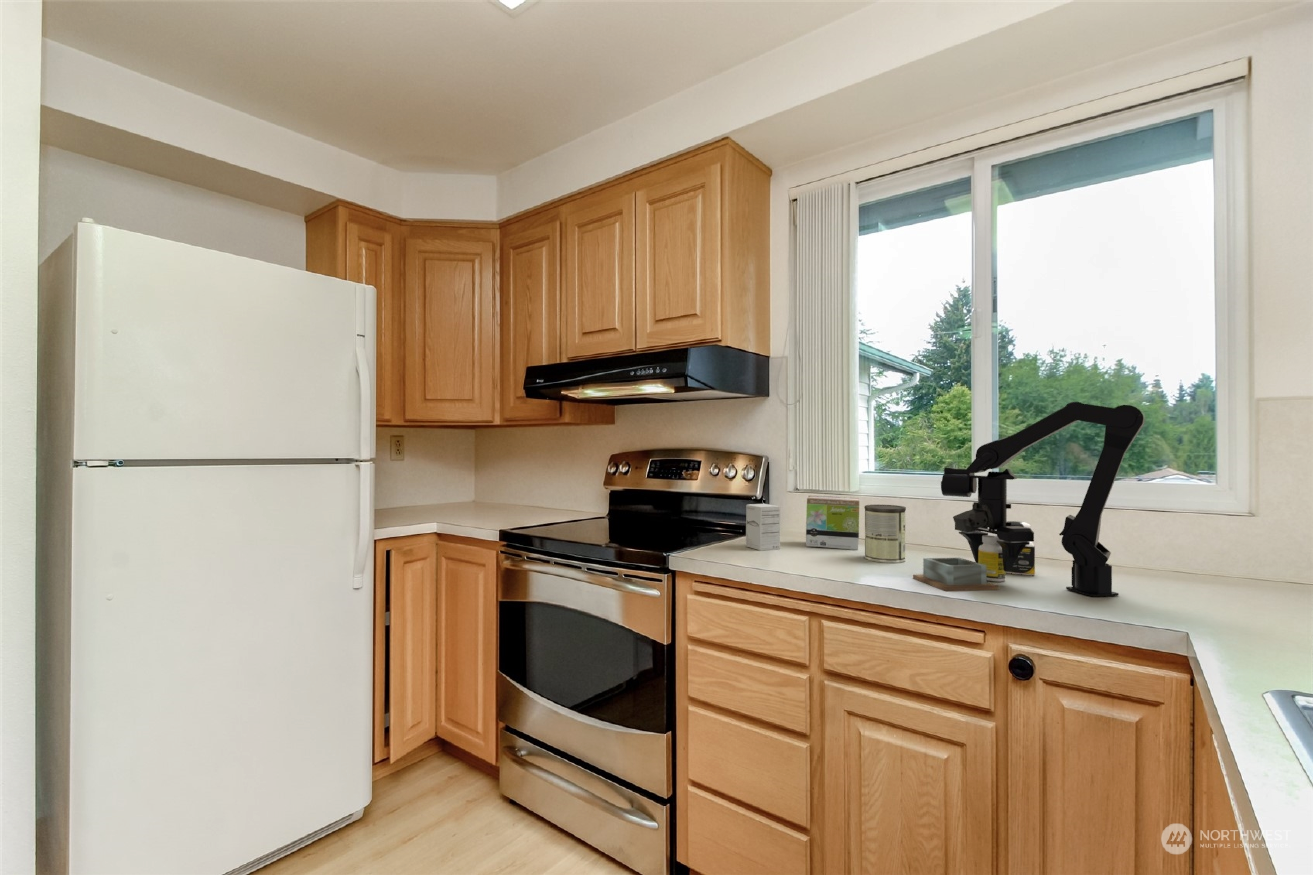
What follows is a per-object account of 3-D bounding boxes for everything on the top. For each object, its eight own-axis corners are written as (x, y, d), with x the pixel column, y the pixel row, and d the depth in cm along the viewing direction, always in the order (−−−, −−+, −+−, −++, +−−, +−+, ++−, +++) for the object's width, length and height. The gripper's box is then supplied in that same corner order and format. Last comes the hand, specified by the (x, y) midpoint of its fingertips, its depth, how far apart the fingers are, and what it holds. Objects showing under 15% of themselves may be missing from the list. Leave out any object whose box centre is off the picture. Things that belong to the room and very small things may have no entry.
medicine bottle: (999, 572, 142) (999, 522, 143) (998, 567, 149) (998, 519, 149) (1035, 576, 139) (1035, 524, 139) (1032, 570, 145) (1032, 521, 146)
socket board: (998, 589, 126) (998, 566, 126) (946, 591, 124) (946, 568, 124) (961, 576, 137) (961, 556, 137) (913, 578, 136) (913, 557, 136)
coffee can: (860, 555, 164) (860, 504, 164) (898, 556, 163) (899, 504, 163) (869, 562, 154) (870, 507, 154) (911, 563, 153) (911, 508, 153)
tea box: (805, 547, 176) (805, 497, 176) (807, 542, 185) (807, 494, 185) (859, 550, 171) (859, 499, 171) (858, 545, 181) (858, 496, 181)
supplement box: (745, 546, 176) (745, 504, 176) (765, 545, 179) (766, 503, 179) (759, 551, 169) (759, 506, 169) (780, 549, 172) (781, 505, 172)
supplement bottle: (1001, 583, 131) (1001, 539, 132) (975, 579, 135) (975, 536, 135) (1008, 579, 135) (1008, 536, 135) (982, 575, 139) (982, 533, 139)
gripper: (934, 495, 144) (934, 560, 143) (988, 503, 125) (988, 577, 125) (976, 495, 145) (976, 559, 145) (1036, 502, 127) (1036, 576, 127)
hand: (992, 567), depth 135 cm, fingers open, 9 cm apart
